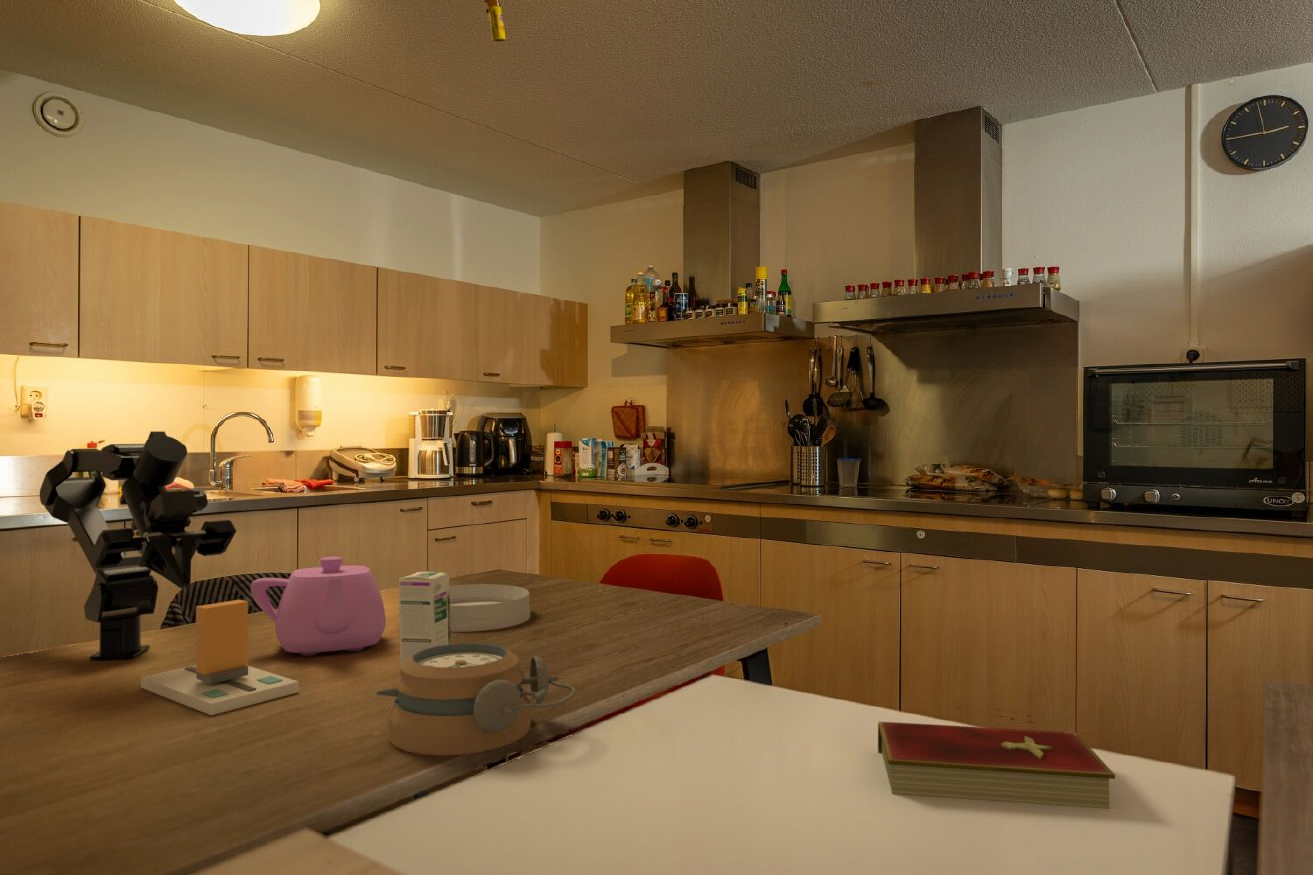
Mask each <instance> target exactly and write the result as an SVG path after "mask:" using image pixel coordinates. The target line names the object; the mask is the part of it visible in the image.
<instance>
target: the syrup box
mask: <svg viewBox="0 0 1313 875" xmlns="http://www.w3.org/2000/svg"><path fill="white" fill-rule="evenodd" d="M449 586H450V573H449V572H443V571H416V572H415V573H411V574H410V575H407V576H404V577H400V578H399V579H398V612H399V613H398V620H399V621H398V623H399V624H398V625H399V628H398V629H399V666H400V665H401V664H402V662H403V661H405V660H406V659H408V658H409V657H411V656H412V655H414V654H416V653H417V652H419V651H422V650H424V649H427V648H431V647H436V646H441V645H448V644H451V631H450V594H449Z"/></svg>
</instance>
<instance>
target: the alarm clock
mask: <svg viewBox="0 0 1313 875" xmlns="http://www.w3.org/2000/svg"><path fill="white" fill-rule="evenodd" d="M529 666H530V667H529V668H530V669H529V677H525V675H524V672H523V671H522V669H521V667H520V657H518V656H517V654H515V653H514V652H511V651H510V650H508V649H507V648H504V647H502V646H500V645H497V644H496V645H495V644H489V643H479V642H467V643H466V642H462V643H461V642H460V643H450V644H448V645H441V646H436V647H431V648H427V649H424V650H422V651H419V652H417V653H416V654H414V655H412V656H411V657H409V658H408V659H406V660H405V661H403V662H402V664H401V665H400V664H399V675H398V677H397V678H396V680H395V682H394V687H392V688H386V689H382V690H378V691H376V695H377V696H384V697H395V699H394V702H393V704H392V706H391V708H390V709H389V710H388V713H387V717H386V718H387V721H386V722H387V723H386V724H387V738H388V742H389V743H390V744H392V745H393V747H394V748H397V749H399V750H402V751H405V752H409V753H413V754H418V755H419V754H420V755H424V756H425V755H427V756H441V757H442V756H461V755H462V756H463V755H469V754H476V753H477V754H478V753H483V752H487V751H492V750H495V749H500V748H502V747H505V746H508V745H510V744H513V743H515V742H517V741H519V740H520V739H522V738H523V737H525V736H526V735H527V734H528V732H529V731H530V730H531V723H532V722H531V721H532V708H534V709H535V708H537V709H539V708H542V709H544V708H553V707H557V706H561V705H562V704H565V703H567V702H568V701H570V700H571V699H572V698H573V697H574V696H575V694H576V692H577V691H576V688H575V687H574V686H572V685H570V684H563V683H559V682H558V681H559V680H560V677H559V675H549V671H548V667H547V665H546V663H545V661H544V659H543V658H542V657H540V656H537V655H535V656H533V655H532V656H531V658H530V665H529ZM528 684H529V685H530V691H527V690H524V688H523V687H522V685H528ZM550 684H551V685H552V686H554V687H557V688H562V689H567V690H569V691H571V693H570V694H568V695H567V696H566V697H565V698H562V699H560V700H557V701H555V702H551V703H549V702H548V703H544V701H545V700H546V699H547V696H548V692H549V687H550ZM527 696H528V697H529V696H531V698H532V702H533V703H531V701H530V699H529V698H528V697H527Z"/></svg>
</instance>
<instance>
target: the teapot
mask: <svg viewBox="0 0 1313 875" xmlns="http://www.w3.org/2000/svg"><path fill="white" fill-rule="evenodd" d="M343 560H344V558H343V557H341V556H325V557H321V558H320V559H319V563H320V565H321V566H315V567H307V568H306V567H305V568H298V569H295V570H294V571H293V572H291V574H290V576H289V578H282V577H281V578H278V577H262V578H258V579H255V580H253V581H252V582H251V584H250V593H251V596H252V599H253V600H254V601H255V603H256V604H257V606H259V608H260V609H261V610H262V611H263V613H265V614H266V616H268V617H269V618H270V620H272V621H273V622H274V623H275V629H274V630H275V635H276V638H277V640H278V642H279V644H280V646H281V647H282V649H283V650H284V652H287V653H291V654H293V653H294V654H295V653H297V654H300V656H314V655H318V654H320V653H325V652H327V653H328V652H336V651H344V650H345V651H347V652H357V651H362V650H364V648H365V647H366V648H367V647H371V646H374V645H376V644H378V643H379V641H380V639H381V638H382V636H383V634H384V631H385V629H386V626H387V625H386V621H387V620H386V611H385V605H384V601H383V598H382V594H381V591H380V589H379V586H378V584H377V581H376V579H375V577H374V574H373V573H372V571H371V570H370V568H369V567H368V566H366V565H342V564H343ZM269 587H284V590H283V592H282V595H281V598H280V600H279V604H278V607H277V611H276V609H275V608H274V606H273V605H272V603H271V601H270V599H269V597H268V593H267V589H268V588H269Z"/></svg>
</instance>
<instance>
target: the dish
mask: <svg viewBox="0 0 1313 875" xmlns="http://www.w3.org/2000/svg"><path fill="white" fill-rule="evenodd" d="M449 594H450V632H457V633H458V632H459V633H460V632H462V633H465V632H481V631H492V630H499V629H504V628H510V627H515V626H517V625H520V624H523V623H525V622H527V621H528V620H530V618H531V605H530V591H529V590H528V589H527V588H524V587H520V586H515V585H509V584H508V585H507V584H494V583H476V584H474V583H472V584H471V583H470V584H459V585H458V584H457V585H449Z"/></svg>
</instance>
